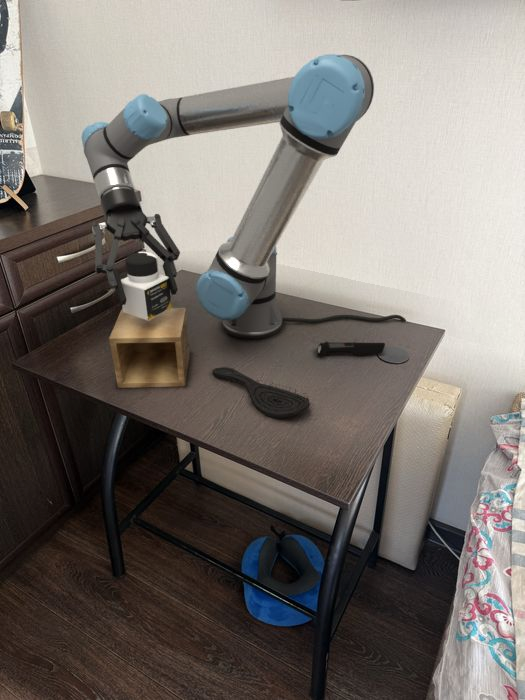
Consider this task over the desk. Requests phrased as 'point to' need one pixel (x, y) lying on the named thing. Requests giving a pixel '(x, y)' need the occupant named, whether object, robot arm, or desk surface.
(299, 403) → the hairbrush
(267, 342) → the desk surface
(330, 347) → the electric trimmer
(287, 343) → the desk surface
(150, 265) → the medicine bottle
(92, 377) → the desk surface
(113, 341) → the shelf
